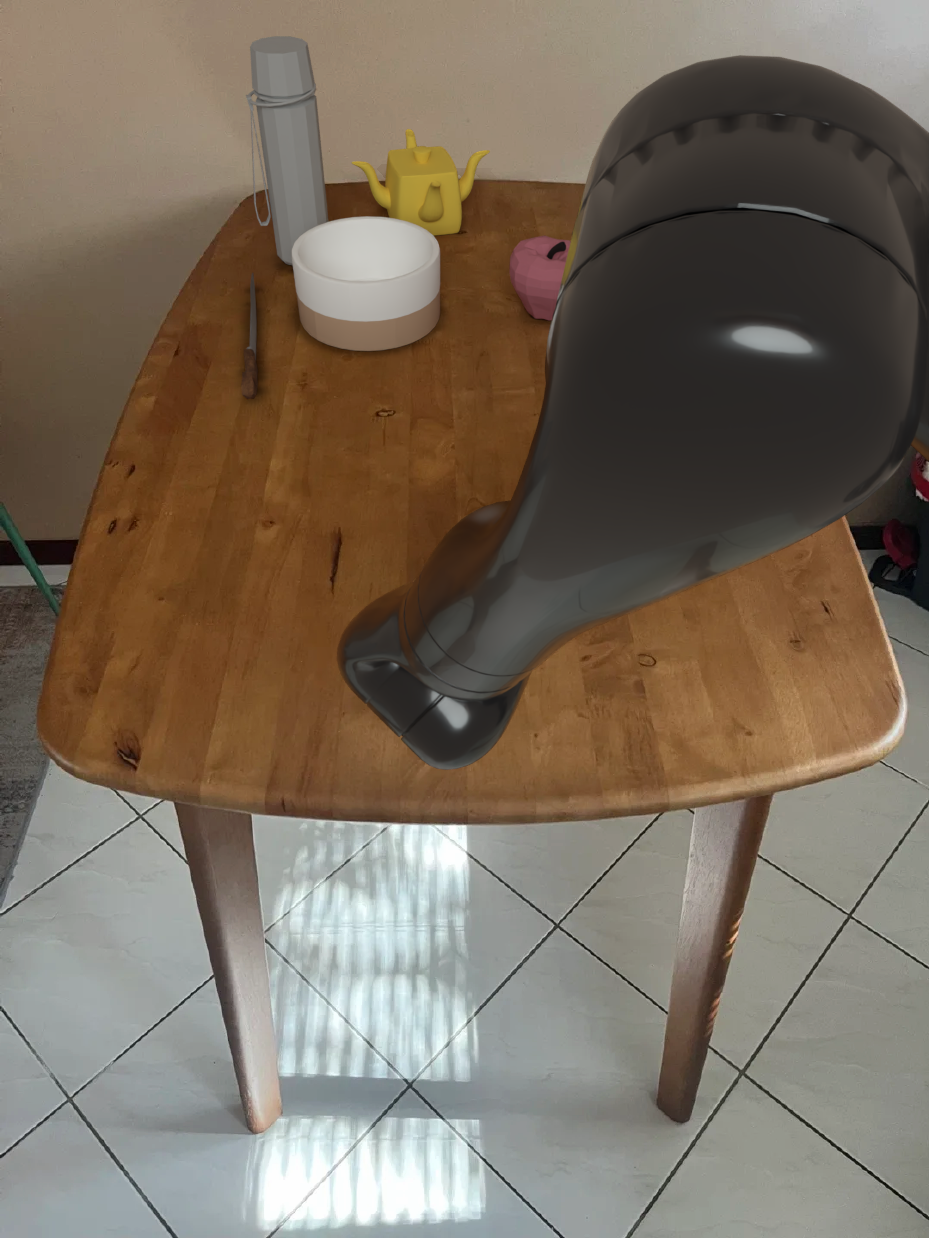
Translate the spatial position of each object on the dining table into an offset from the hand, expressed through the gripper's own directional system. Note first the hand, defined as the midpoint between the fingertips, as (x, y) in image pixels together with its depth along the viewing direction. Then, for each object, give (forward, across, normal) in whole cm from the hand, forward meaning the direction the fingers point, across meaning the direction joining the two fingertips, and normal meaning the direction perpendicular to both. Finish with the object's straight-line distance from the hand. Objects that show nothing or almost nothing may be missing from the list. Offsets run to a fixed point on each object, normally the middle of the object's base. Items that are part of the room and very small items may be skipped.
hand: (701, 408), depth 71 cm
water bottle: (+24, +68, +18) cm, 74 cm away
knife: (+6, +57, +18) cm, 60 cm away
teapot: (+43, +62, +17) cm, 77 cm away
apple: (+32, +34, +18) cm, 49 cm away
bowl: (+19, +51, +18) cm, 57 cm away
